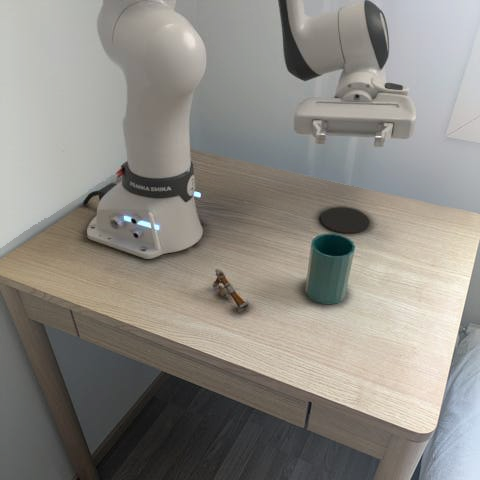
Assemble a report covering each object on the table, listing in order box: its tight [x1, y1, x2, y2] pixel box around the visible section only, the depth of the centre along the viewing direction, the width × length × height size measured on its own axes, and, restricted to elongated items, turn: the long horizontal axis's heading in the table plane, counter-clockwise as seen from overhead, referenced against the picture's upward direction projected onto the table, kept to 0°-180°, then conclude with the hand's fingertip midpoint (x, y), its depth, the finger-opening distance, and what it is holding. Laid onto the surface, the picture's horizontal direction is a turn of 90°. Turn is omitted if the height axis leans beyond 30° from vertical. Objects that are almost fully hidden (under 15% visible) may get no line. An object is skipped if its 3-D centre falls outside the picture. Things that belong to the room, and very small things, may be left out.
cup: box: [304, 232, 356, 305], centre depth 81 cm, size 7×7×10 cm
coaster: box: [320, 206, 371, 235], centre depth 102 cm, size 10×10×1 cm
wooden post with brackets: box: [212, 268, 250, 313], centre depth 81 cm, size 2×8×4 cm, turn 40°
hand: (349, 141), depth 80 cm, fingers open, 8 cm apart
